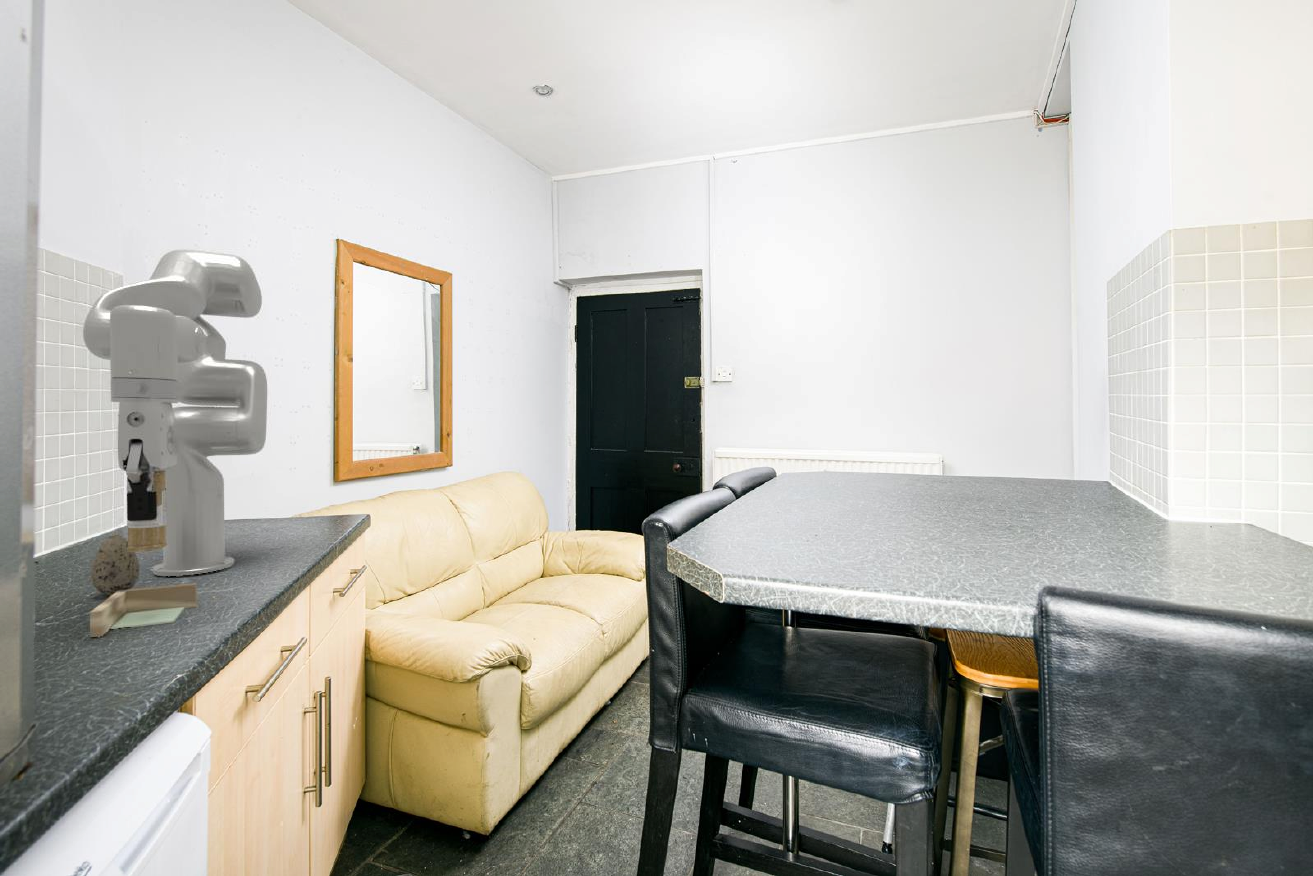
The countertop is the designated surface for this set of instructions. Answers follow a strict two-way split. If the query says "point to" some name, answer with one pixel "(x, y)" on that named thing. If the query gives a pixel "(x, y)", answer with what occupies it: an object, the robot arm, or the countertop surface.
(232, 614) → the countertop surface
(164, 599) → the corner walls
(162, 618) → the pad
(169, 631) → the countertop surface
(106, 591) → the decorative egg
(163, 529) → the sprinkles bottle
